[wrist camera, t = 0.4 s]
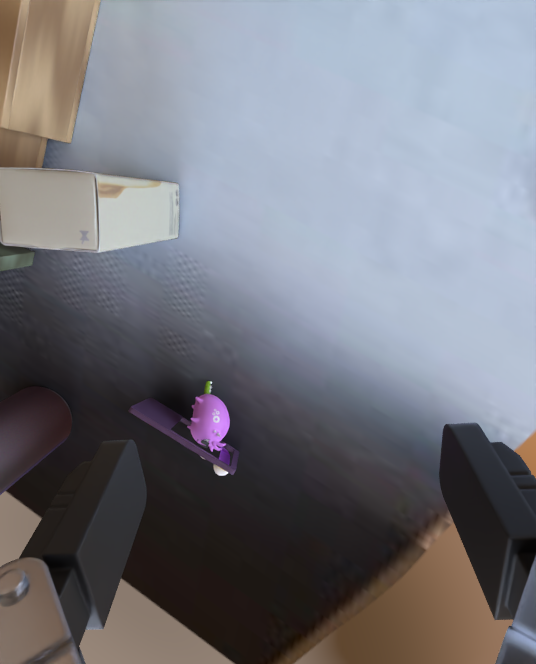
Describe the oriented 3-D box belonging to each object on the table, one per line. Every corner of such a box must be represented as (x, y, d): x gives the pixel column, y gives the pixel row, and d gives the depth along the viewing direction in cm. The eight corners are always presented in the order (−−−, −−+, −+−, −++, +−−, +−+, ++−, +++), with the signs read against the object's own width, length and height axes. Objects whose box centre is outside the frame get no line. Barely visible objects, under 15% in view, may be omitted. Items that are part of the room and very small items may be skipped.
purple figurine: (122, 419, 35) (227, 484, 35) (160, 358, 35) (265, 422, 35) (144, 408, 41) (232, 462, 41) (175, 357, 42) (263, 410, 42)
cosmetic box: (180, 182, 36) (102, 170, 25) (179, 239, 37) (105, 254, 26) (101, 177, 37) (-10, 164, 26) (103, 233, 38) (-3, 246, 27)
